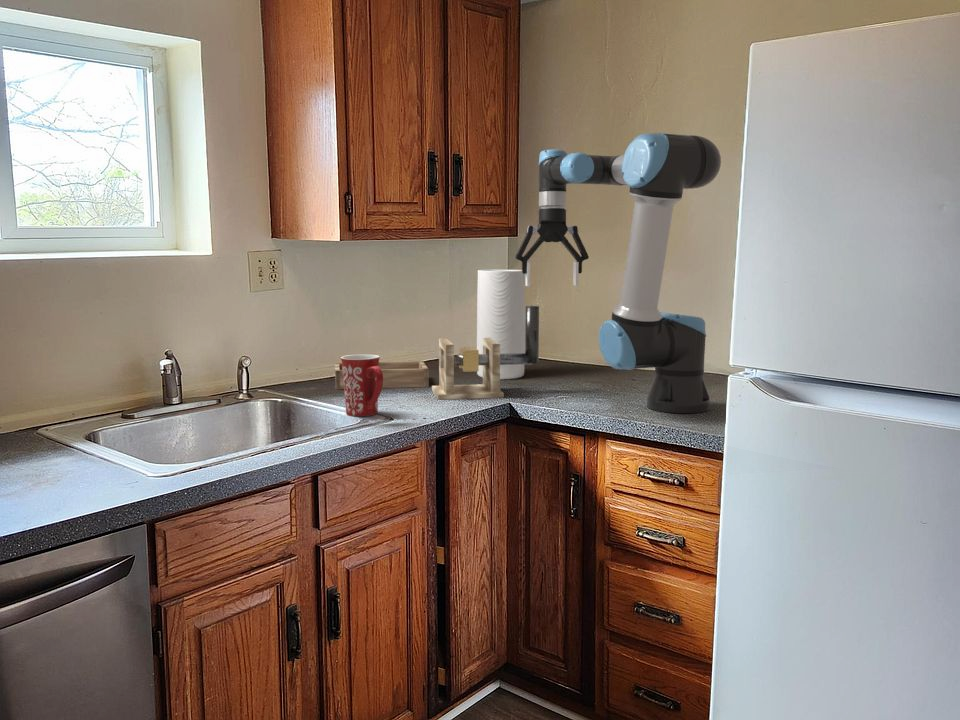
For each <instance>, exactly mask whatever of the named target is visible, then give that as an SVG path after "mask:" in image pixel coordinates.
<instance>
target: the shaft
mask: <svg viewBox="0 0 960 720" xmlns="http://www.w3.org/2000/svg"><path fill="white" fill-rule="evenodd" d="M539 326H540V306H539V305H525V353H511V354H500V365H524V364H525V365H534V364H538V363H539V356H540V355H539V350H540V347H539V344H540V327H539ZM480 365H489V354H479V366H480ZM442 366H444V355H442ZM459 366H463V356H462V355H459V354H454V367H459Z"/></svg>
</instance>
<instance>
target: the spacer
mask: <svg viewBox="0 0 960 720" xmlns="http://www.w3.org/2000/svg"><path fill="white" fill-rule="evenodd" d="M458 348H459V349H458V351H459V352H458V353H459V354H458V355H462V356H463V366H458V368H459V369H462V372H463V373H464V372H466V373H467V372H469V373H470V372H477V371H479V350H478V349H477V347H475V346H462V347H461V346H460V347H458Z"/></svg>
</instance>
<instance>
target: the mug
mask: <svg viewBox="0 0 960 720" xmlns="http://www.w3.org/2000/svg"><path fill="white" fill-rule="evenodd" d="M380 358H381V356H380V355H378V354H377V355H376V354H363V353H362V354H347V356H345V355H342V356H341V357H340V360H341V363H342V368H343V380H344V389H343V390H344V391H343V393H344V399H345V400H344V403H345V413H346V415H347V416H349V417H369V416H370V417H371V416H375V415H377V414H378V410H379V409H378V408H379V407H378V405H379V403H378V401H379V397H380V395H381V392H382V390H383V388H382V386H383V373H382V370H381V369H380V368H379V362H380Z"/></svg>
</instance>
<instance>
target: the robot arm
mask: <svg viewBox="0 0 960 720" xmlns="http://www.w3.org/2000/svg"><path fill="white" fill-rule="evenodd" d="M538 157H539V161H538V207H539V210H538V224H537V226H532V225H528V226H527V227H526V234H525V236H524V238H523V240H522V242H521V244H520V246H519V249H518V250H517V253H516V255H515V260H517V261H520V262H521V270H522V273H523V274H525V287H530V286H531V262H530V261H529V259H531V257H532V256H533V254H534V253H536V251H537V250H538V249H539V248H540V247H541V246H542V244H543V243H544V242H545V243H561V244H562V245H563V246H564V247H565V248H566V250H567V252H569V253H570V254H571V256H572V257H573V258H574V260H575V261H573V262H572V263H573V265H572V267H573V270H572V272H573V273H572V274H573V275H572V276H573V277H572V278H573V279H572V280H573V281H572V284H573V286H575V287H577V286H579V274H582V272H583V262H584V261H585V260H586V261H587V260H588V259H589V254H588V252H587V250H586V248H585V246H584V245H585V244H584V243H583V241H582V239H581V236H580V235H579V230H578V229H579V228H578V225H572V226H567V210H566V208H565V207H566V206H567V185H569V184H573V185H575V184H576V185H577V184H581V185H604V186H605V185H608V186H629V195H630V196H631V197H632V199H633V200H634V201H633V202H634V205H633V212H632V218H631V219H632V220H631V225H630V226H631V227H630V234H629V240H628V247H627V255H626V262H625V267H624V275H623V282H622V289H621V296H620V302H619V304H618V305H617V306H615V307H614V308H613V309H612V314H611V319H608V320H606V321H604V322H603V323H602V324H601V326H600V328H599V330H598V343H599V349H600V353H601V355H602V357H603V360H604V361H605V362H606V363H607V365H608V366H610V367H611V368H612V369H614V370H628V371H632V370H637V369H638V370H639V369H640V370H641V369H653V368H655V369H654V378H653V380H652V383H651V386H650V388H649V391H648V394H647V396H646V408H648V409H649V410H654V411H656V412H662V413H672V414H697V413H698V414H700V413H705V412H708V411H709V410H710V409H711V400H710V395H709V392H708V389H707V385H706V382H705V378H704V377H705V376H704V375H705V354H706V351H705V350H706V337H707V333H706V322H705V320H704V318H702V317H700V316H695V315H694V316H693V315H687V314H686V315H685V314H680V313H678V314H676V313H669V312H662V311H661V312H660V310H659V309H658V305H659V298H660V293H661V286H662V281H663V275H664V274H663V273H664V267H665V261H666V254H667V249H668V243H669V236H670V231H671V225H672V218H673V212H674V206H675V205H676V204H678V202H680V201H681V200H682V197H683V194H684V189H686V190H689V189H690V190H691V189H700V188H702V187H705V186H707V185H708V184H711V183H712V182H713V180H714V179H715V178H716V177H717V176H718V174H719V172H720V169H721V165H722V160H721V159H722V157H721V154H720V151H719V149H718V147H717V146H716V144H715V143H713V142H712V140H710V139H708V138H706V137H704V136H700V135H689V134H677V133H676V134H675V133H662V132H648V133H641V134H639V135H637V136H636V137H635V138H634V139H633V140H632V141H631V142H630V143H629V144H628V146H627V148H626V150H625V152H624V154H620V155H597V154H595V155H594V154H588V153H585V152H571V153H569V154H567V151H566V150H564V149H555V148H554V149H544V150H542V151H541V152H540V153H539V156H538ZM536 232H537V234H538V235H539V237H538V238H537V239H536V241H535V242H534V243H533V245H532V246H531V247H530V248H529V249H528V250H527V252H526V253H525V251H526V249H527V247H528V245H529V243H530V241H531V239H532V238H533V235H534V234H535V233H536ZM568 232H569V234H570V235H571V236H572V238H573V241H574V242H575V245H576V247H577V249H578V251H579V253H578V251H577V250H576V249H575V247H574V246H573V245H572V244H571V242H569V240H568V238H567V237H566V236H565V235H566V234H567V233H568ZM524 253H525V254H524Z"/></svg>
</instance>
